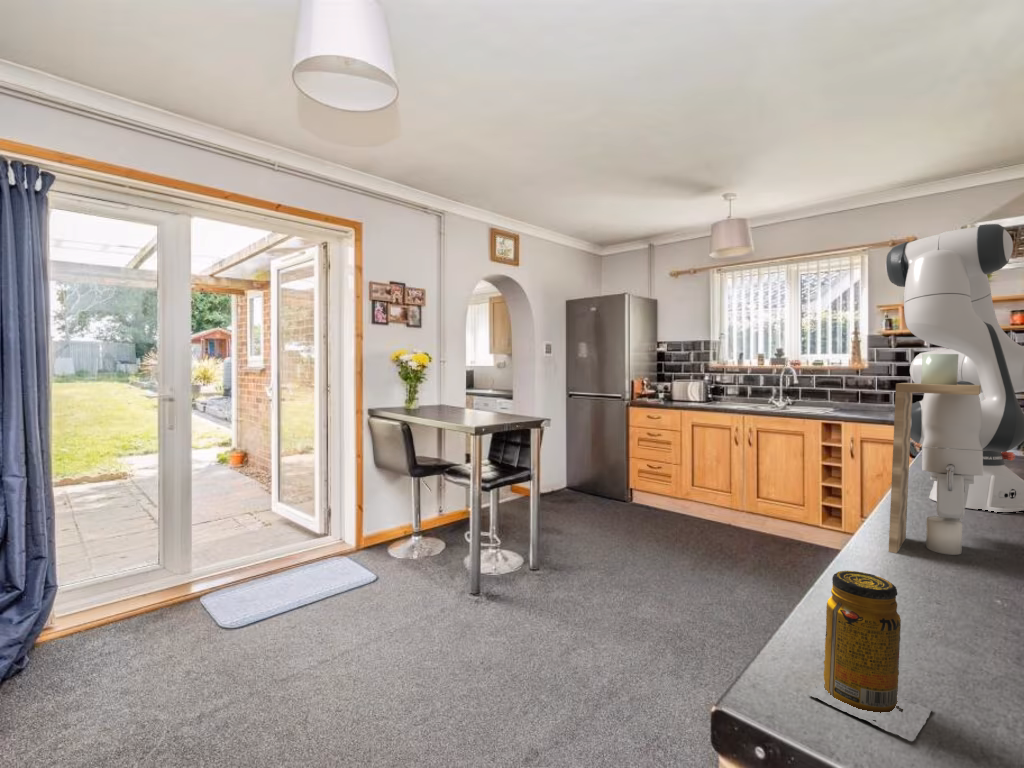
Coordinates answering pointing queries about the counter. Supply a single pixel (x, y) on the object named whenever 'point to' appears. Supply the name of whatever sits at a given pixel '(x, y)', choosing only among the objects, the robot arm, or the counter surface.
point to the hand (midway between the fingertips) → (952, 537)
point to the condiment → (862, 641)
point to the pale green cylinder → (939, 369)
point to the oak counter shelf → (903, 451)
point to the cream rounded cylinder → (944, 535)
